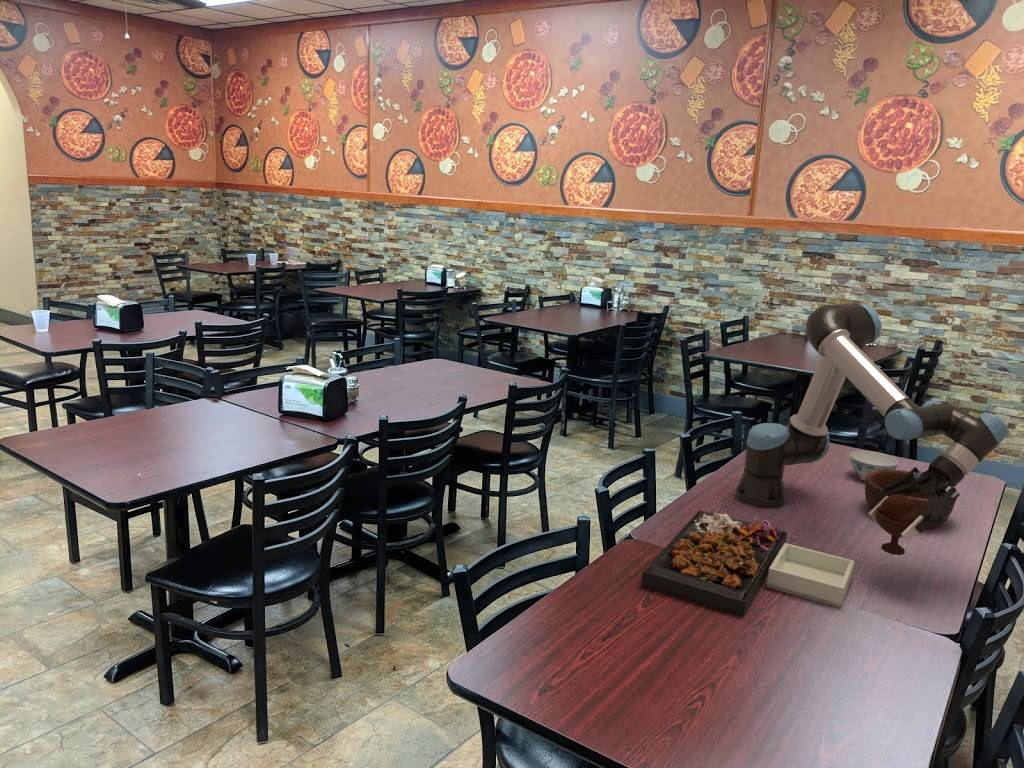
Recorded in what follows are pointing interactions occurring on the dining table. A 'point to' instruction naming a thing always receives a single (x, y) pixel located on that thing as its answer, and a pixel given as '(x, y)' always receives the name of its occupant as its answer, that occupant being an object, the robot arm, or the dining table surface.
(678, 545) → the food platter
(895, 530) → the ice cream bowl
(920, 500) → the wooden bowl
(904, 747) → the dining table surface
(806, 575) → the bin
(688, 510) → the dining table surface
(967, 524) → the dining table surface
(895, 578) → the dining table surface
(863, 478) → the chinaware
